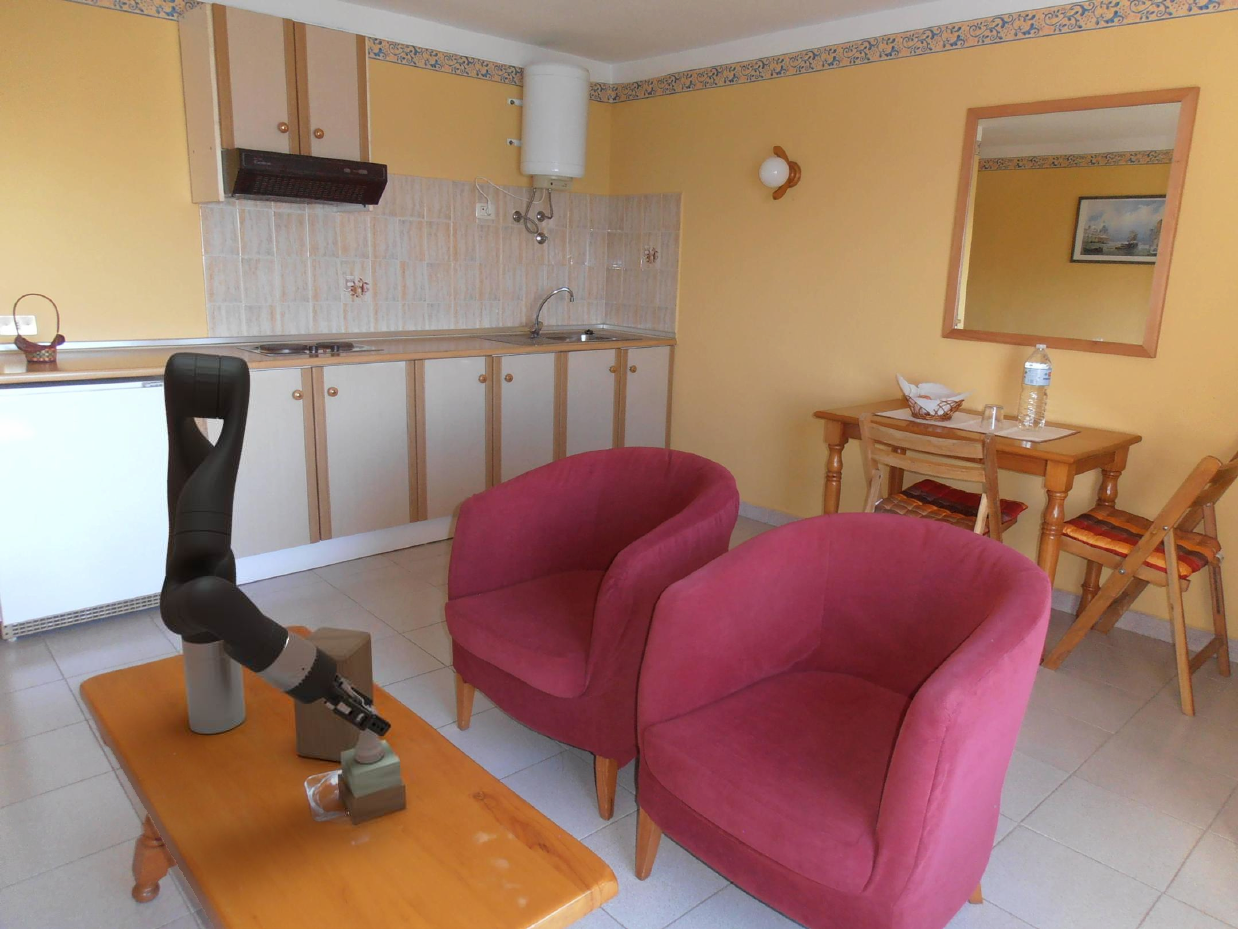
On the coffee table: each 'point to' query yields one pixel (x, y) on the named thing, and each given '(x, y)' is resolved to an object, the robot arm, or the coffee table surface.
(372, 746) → the rook chess piece
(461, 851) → the coffee table surface
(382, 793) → the tower base
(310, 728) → the block
